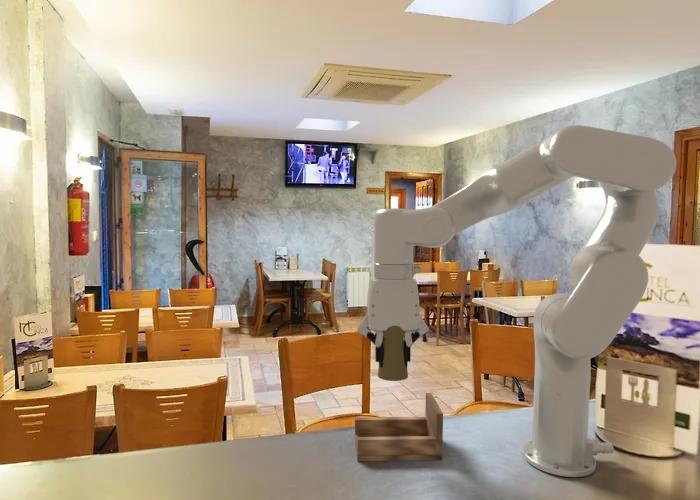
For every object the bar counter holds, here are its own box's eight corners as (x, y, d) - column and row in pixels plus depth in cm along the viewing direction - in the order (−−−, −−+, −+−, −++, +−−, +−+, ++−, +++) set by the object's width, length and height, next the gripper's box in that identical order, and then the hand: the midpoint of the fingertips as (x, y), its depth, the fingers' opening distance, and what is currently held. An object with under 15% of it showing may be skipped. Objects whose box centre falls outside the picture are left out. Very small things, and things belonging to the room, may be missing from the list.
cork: (406, 382, 91) (407, 324, 90) (375, 379, 92) (375, 323, 91) (409, 371, 97) (410, 317, 96) (379, 369, 98) (380, 316, 97)
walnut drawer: (430, 434, 101) (431, 393, 101) (442, 459, 91) (443, 413, 90) (354, 435, 101) (355, 393, 100) (357, 461, 90) (357, 414, 90)
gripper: (432, 270, 97) (431, 359, 99) (349, 270, 97) (349, 360, 98) (440, 274, 90) (439, 370, 91) (351, 275, 89) (350, 372, 90)
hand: (392, 364), depth 94 cm, fingers closed on cork, 4 cm apart
